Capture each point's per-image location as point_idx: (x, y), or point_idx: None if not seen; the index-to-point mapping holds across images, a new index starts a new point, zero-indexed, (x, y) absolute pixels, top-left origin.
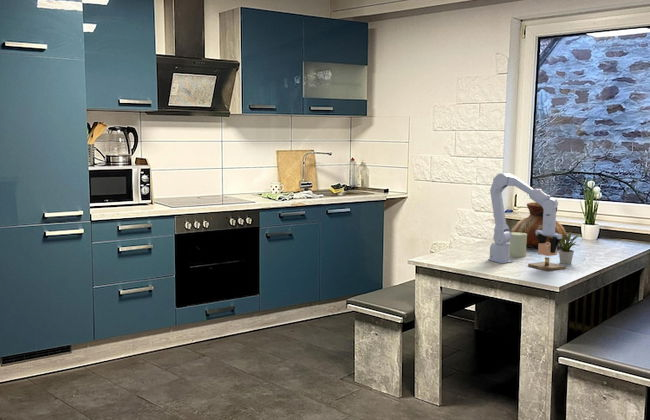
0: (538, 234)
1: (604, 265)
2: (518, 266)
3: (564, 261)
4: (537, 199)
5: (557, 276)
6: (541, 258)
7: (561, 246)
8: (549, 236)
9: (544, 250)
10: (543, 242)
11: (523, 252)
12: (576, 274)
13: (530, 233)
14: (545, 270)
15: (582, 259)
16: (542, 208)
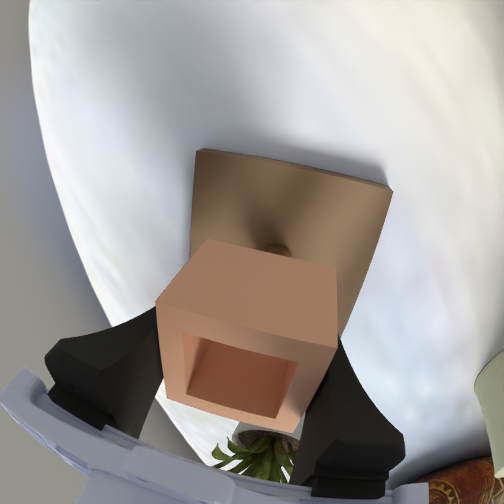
0: (380, 489)
1: (176, 418)
2: (429, 125)
3: None
4: None
5: (94, 93)
6: (407, 401)
7: None
8: (169, 455)
9: (237, 274)
10: (312, 410)
11: (489, 386)
12: (89, 221)
13: (476, 492)
14: (217, 150)
15: None
16: None
